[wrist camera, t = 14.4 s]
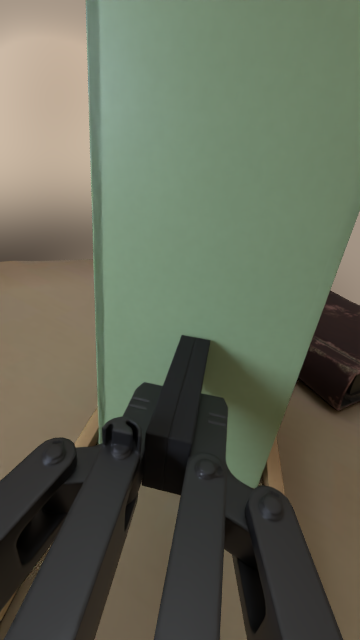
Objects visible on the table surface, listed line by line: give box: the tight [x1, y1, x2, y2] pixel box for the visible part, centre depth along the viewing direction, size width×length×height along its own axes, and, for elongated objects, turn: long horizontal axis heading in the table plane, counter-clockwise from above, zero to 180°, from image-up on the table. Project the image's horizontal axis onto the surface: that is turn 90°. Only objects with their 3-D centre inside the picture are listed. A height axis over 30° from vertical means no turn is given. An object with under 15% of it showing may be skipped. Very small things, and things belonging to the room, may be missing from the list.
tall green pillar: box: [86, 0, 360, 488], centre depth 18 cm, size 11×11×28 cm
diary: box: [298, 291, 360, 411], centre depth 40 cm, size 19×25×5 cm
